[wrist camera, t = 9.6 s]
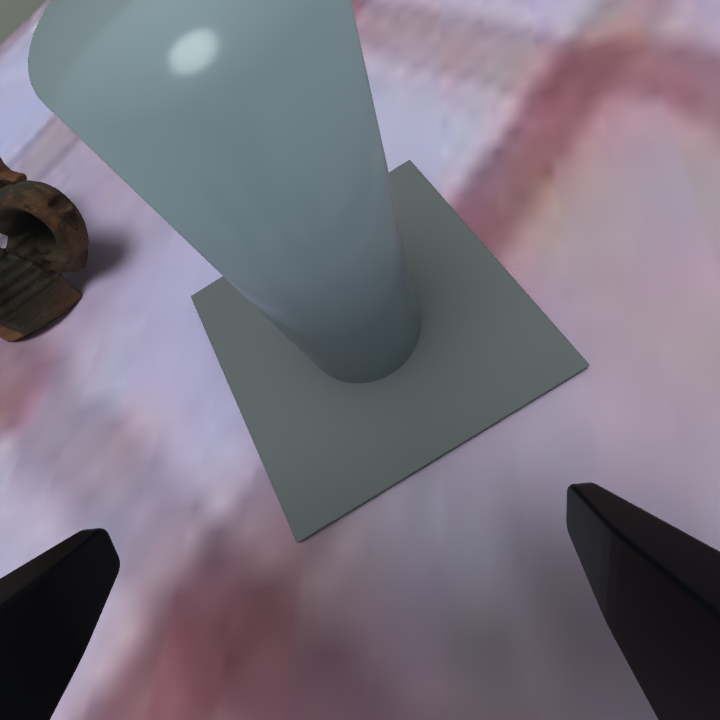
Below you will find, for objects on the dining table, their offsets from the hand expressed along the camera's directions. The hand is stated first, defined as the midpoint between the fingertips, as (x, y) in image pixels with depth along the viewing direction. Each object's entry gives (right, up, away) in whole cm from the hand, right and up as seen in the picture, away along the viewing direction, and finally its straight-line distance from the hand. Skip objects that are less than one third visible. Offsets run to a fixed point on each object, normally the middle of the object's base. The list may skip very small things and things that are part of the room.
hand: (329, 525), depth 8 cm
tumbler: (+1, +5, +12) cm, 13 cm away
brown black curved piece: (-19, +9, +19) cm, 28 cm away
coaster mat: (+1, +5, +12) cm, 13 cm away
